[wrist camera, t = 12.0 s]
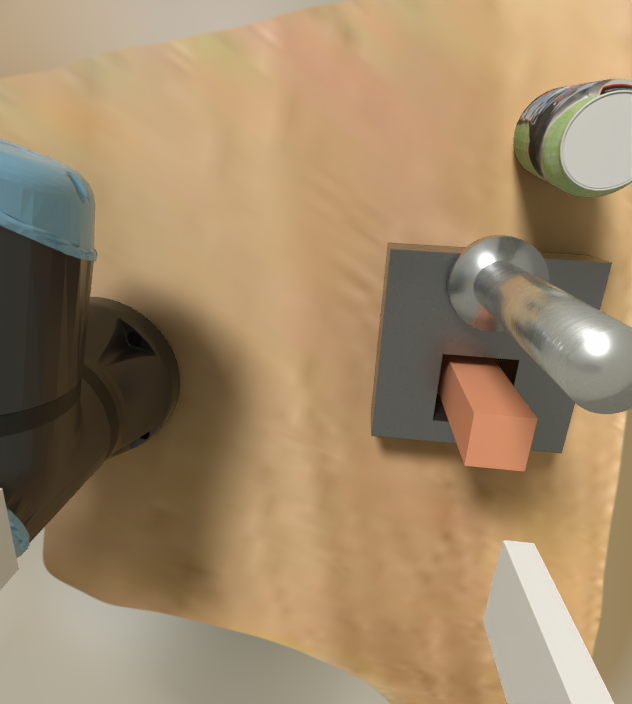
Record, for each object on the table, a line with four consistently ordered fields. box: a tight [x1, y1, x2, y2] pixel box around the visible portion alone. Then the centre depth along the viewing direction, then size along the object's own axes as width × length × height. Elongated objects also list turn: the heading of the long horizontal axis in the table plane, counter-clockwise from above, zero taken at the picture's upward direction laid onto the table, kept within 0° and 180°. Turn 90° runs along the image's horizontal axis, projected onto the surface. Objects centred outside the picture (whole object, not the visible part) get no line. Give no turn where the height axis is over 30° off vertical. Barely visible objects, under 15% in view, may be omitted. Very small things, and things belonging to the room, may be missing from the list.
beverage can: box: [514, 79, 632, 197], centre depth 30 cm, size 6×7×12 cm
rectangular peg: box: [438, 354, 537, 471], centre depth 37 cm, size 4×4×12 cm
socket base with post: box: [371, 235, 632, 453], centre depth 31 cm, size 16×18×22 cm
